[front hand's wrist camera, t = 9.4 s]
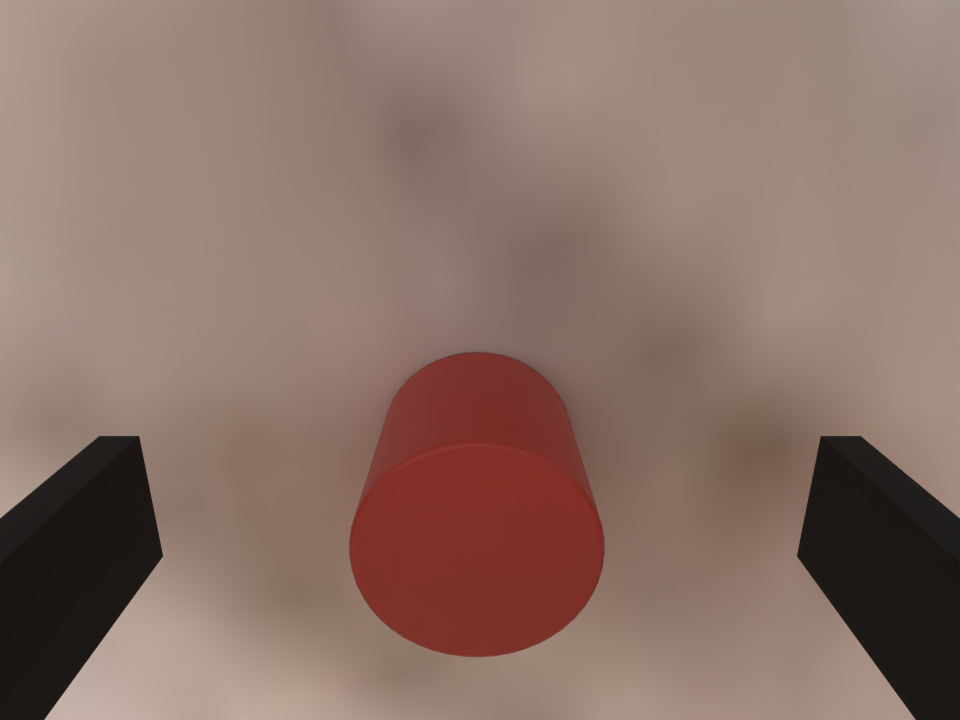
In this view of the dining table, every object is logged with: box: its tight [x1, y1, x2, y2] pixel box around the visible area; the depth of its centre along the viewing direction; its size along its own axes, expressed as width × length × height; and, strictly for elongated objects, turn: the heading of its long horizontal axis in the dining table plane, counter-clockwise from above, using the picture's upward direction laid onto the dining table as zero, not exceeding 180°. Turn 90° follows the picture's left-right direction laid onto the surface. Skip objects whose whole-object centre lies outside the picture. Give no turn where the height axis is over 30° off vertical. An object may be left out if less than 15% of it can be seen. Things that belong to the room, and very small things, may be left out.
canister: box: [349, 353, 605, 657], centre depth 13 cm, size 4×4×4 cm
